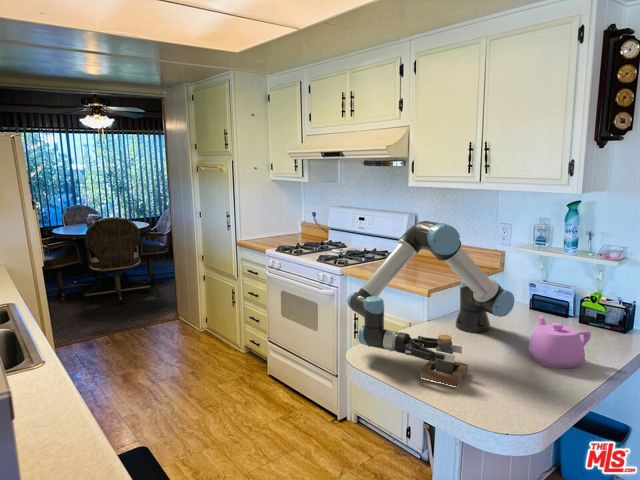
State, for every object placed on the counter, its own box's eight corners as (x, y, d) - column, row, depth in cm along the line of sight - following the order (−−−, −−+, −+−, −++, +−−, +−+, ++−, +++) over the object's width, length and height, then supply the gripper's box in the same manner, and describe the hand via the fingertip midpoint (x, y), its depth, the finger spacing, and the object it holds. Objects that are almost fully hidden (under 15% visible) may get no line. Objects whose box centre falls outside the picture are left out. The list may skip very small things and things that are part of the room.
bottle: (436, 371, 163) (436, 333, 161) (452, 373, 161) (453, 334, 159) (435, 379, 158) (435, 339, 155) (452, 381, 156) (453, 340, 153)
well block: (432, 365, 168) (432, 356, 168) (467, 373, 161) (467, 364, 161) (420, 379, 158) (420, 370, 157) (457, 388, 150) (457, 378, 150)
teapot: (601, 370, 160) (604, 331, 158) (543, 372, 161) (545, 332, 158) (567, 345, 183) (569, 310, 180) (516, 347, 183) (517, 312, 181)
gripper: (408, 341, 177) (466, 353, 165) (386, 361, 160) (448, 376, 147) (408, 323, 176) (466, 334, 163) (385, 341, 158) (449, 354, 146)
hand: (458, 354), depth 155 cm, fingers open, 8 cm apart
